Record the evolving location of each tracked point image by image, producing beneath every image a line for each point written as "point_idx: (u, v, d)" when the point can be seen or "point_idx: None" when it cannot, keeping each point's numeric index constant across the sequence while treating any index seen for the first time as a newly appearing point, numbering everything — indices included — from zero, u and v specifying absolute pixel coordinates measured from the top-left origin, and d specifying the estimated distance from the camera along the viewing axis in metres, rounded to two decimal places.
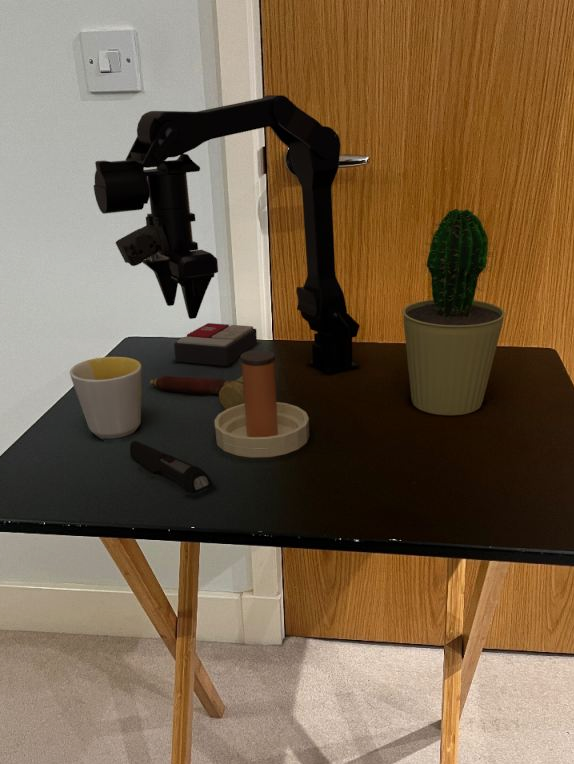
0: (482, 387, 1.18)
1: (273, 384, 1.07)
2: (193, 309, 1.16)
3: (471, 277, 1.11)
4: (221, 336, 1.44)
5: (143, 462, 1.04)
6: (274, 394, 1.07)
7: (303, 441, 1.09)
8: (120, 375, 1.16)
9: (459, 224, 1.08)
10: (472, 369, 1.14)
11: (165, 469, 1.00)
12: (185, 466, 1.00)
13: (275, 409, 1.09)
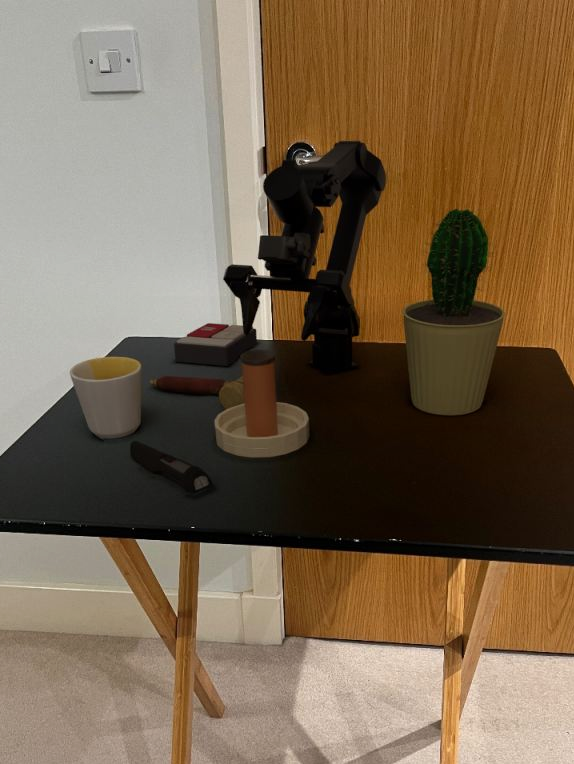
0: (482, 387, 1.18)
1: (273, 384, 1.07)
2: (309, 330, 1.10)
3: (471, 277, 1.11)
4: (221, 336, 1.44)
5: (143, 462, 1.04)
6: (274, 394, 1.07)
7: (303, 441, 1.09)
8: (120, 375, 1.16)
9: (459, 224, 1.08)
10: (472, 369, 1.14)
11: (165, 469, 1.00)
12: (185, 466, 1.00)
13: (275, 409, 1.09)
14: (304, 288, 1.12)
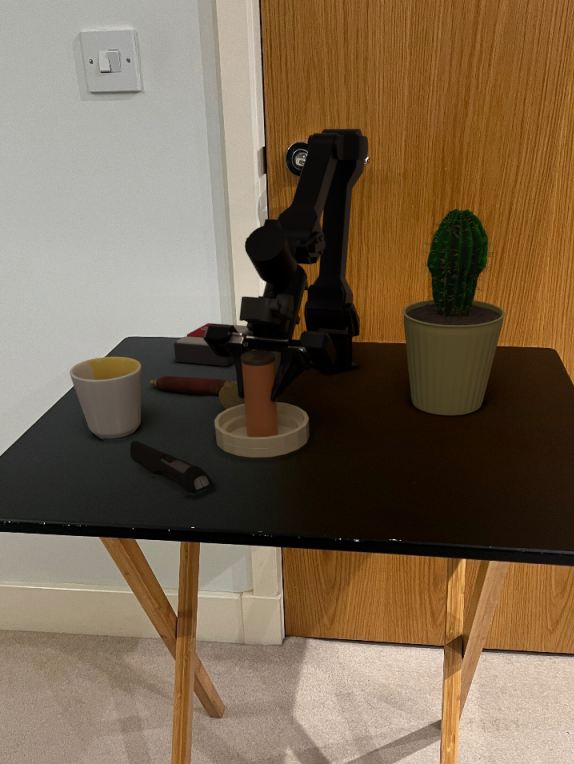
0: (482, 387, 1.18)
1: (273, 384, 1.07)
2: (279, 392, 1.07)
3: (471, 277, 1.11)
4: None
5: (143, 462, 1.04)
6: None
7: (303, 441, 1.09)
8: (120, 375, 1.16)
9: (459, 224, 1.08)
10: (472, 369, 1.14)
11: (165, 469, 1.00)
12: (185, 466, 1.00)
13: (275, 409, 1.09)
14: None
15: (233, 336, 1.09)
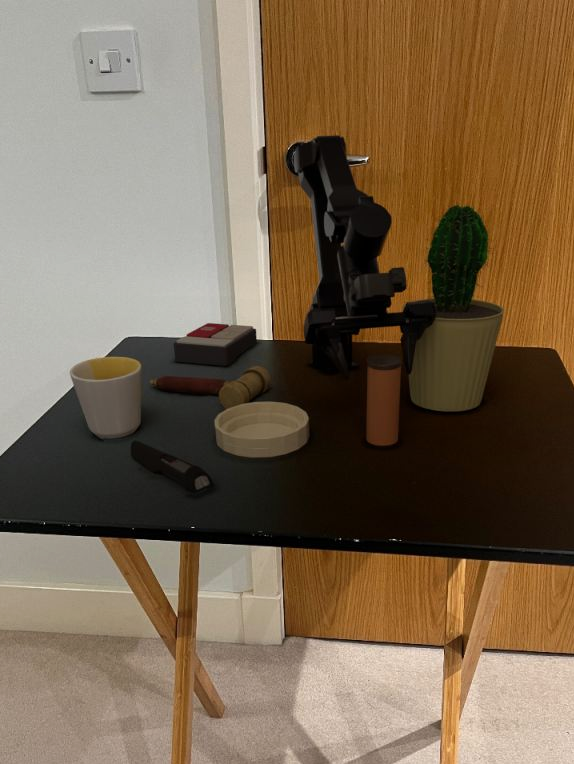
0: (480, 384, 1.18)
1: None
2: None
3: (471, 273, 1.12)
4: (221, 336, 1.44)
5: (144, 462, 1.04)
6: (399, 396, 1.07)
7: (303, 441, 1.09)
8: (120, 375, 1.16)
9: (459, 220, 1.10)
10: (470, 364, 1.14)
11: (165, 469, 1.00)
12: (185, 466, 1.00)
13: None
14: (390, 323, 1.10)
15: None
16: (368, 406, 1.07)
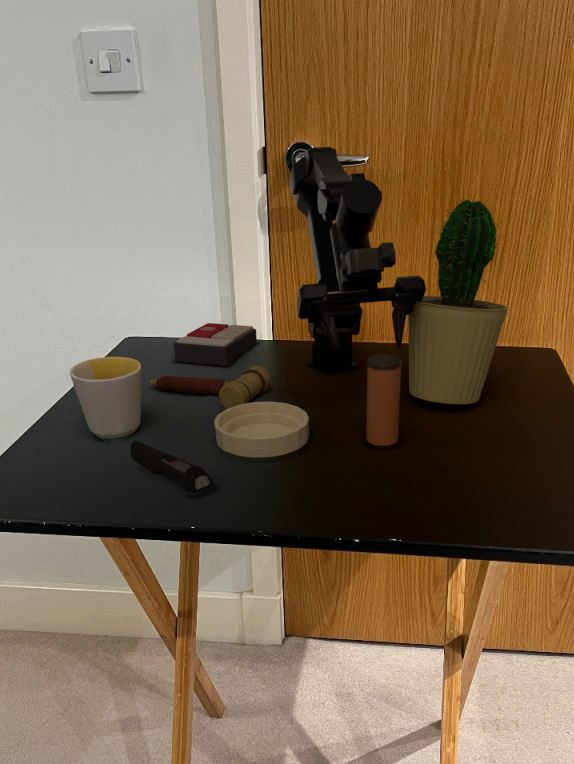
0: (479, 379, 1.18)
1: None
2: None
3: (477, 266, 1.13)
4: (221, 336, 1.44)
5: (144, 462, 1.04)
6: (399, 396, 1.07)
7: (303, 441, 1.09)
8: (120, 375, 1.16)
9: (469, 213, 1.12)
10: (470, 355, 1.14)
11: (165, 469, 1.00)
12: (185, 466, 1.00)
13: None
14: (381, 297, 1.13)
15: None
16: (368, 406, 1.07)
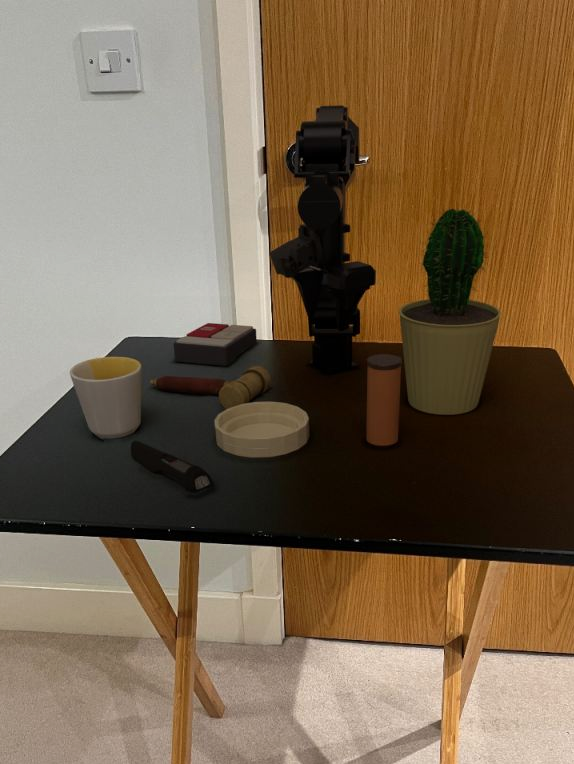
0: (476, 388, 1.18)
1: None
2: (344, 321, 1.14)
3: (466, 277, 1.11)
4: (221, 336, 1.44)
5: (144, 462, 1.04)
6: (399, 396, 1.07)
7: (303, 441, 1.09)
8: (120, 375, 1.16)
9: (454, 224, 1.09)
10: (464, 369, 1.14)
11: (165, 469, 1.00)
12: (185, 466, 1.00)
13: None
14: None
15: None
16: (368, 406, 1.07)
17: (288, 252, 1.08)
